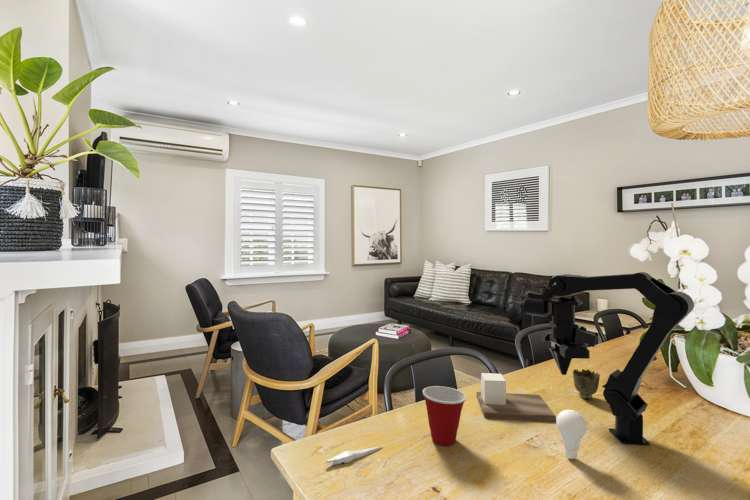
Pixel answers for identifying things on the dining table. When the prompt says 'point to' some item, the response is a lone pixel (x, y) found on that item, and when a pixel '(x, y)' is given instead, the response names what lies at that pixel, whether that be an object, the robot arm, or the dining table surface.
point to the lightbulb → (571, 431)
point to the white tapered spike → (350, 456)
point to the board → (518, 408)
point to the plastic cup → (443, 413)
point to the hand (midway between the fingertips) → (563, 374)
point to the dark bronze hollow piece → (586, 383)
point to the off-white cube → (493, 388)
